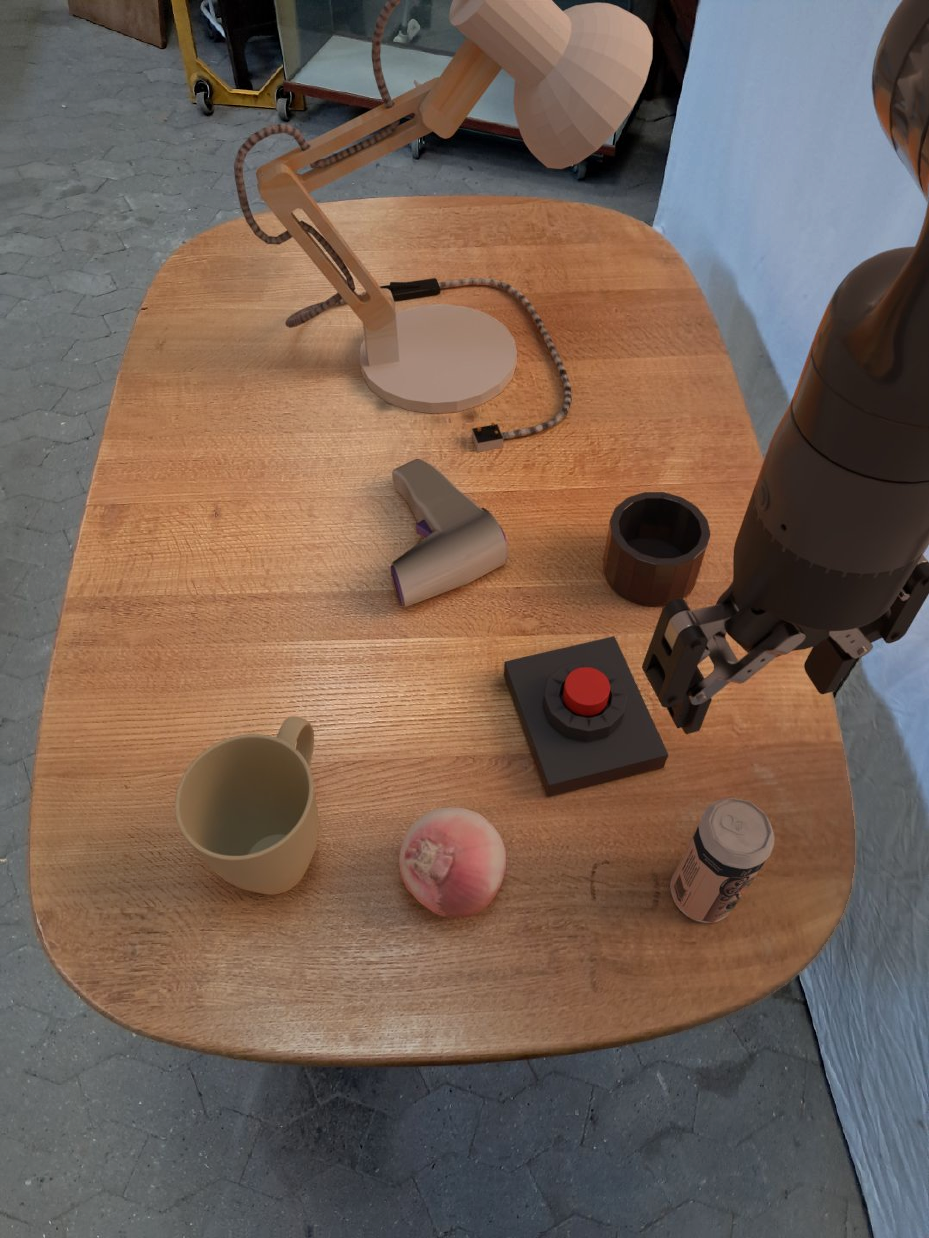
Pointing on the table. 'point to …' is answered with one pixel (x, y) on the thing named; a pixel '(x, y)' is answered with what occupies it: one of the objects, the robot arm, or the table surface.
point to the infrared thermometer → (443, 536)
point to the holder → (654, 548)
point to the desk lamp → (545, 112)
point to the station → (583, 719)
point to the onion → (453, 861)
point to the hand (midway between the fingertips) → (751, 699)
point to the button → (586, 691)
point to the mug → (253, 808)
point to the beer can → (722, 859)
